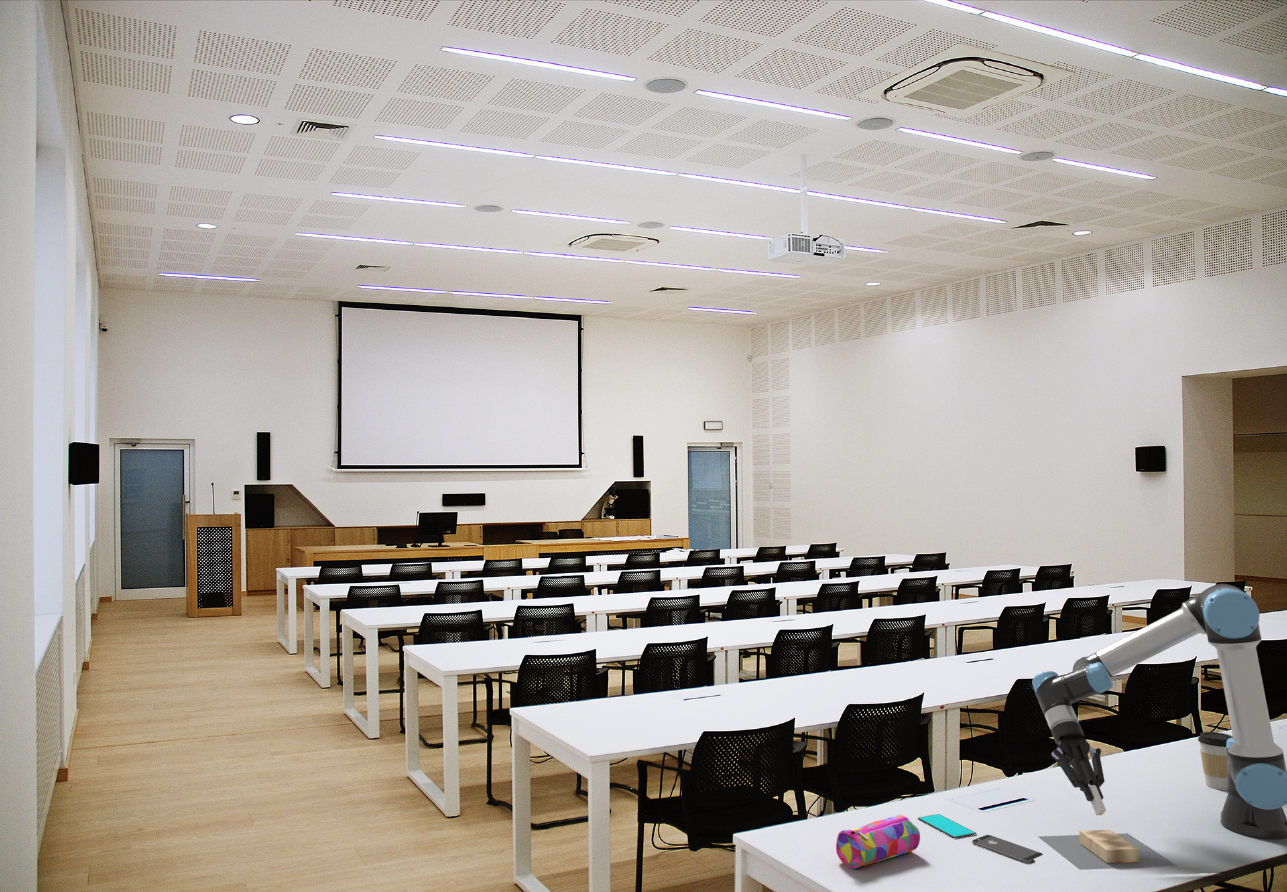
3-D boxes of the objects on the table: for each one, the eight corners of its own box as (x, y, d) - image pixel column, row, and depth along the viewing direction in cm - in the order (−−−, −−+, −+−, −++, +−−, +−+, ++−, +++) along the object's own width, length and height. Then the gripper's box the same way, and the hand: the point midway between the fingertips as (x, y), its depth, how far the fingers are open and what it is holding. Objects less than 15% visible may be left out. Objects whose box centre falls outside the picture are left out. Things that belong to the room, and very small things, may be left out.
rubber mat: (1127, 835, 239) (1127, 833, 239) (1177, 868, 219) (1177, 865, 219) (1037, 838, 237) (1037, 836, 237) (1079, 871, 217) (1079, 869, 218)
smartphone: (954, 837, 238) (917, 817, 252) (954, 840, 238) (917, 820, 252) (977, 832, 240) (939, 813, 254) (977, 836, 240) (939, 816, 254)
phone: (1045, 858, 226) (987, 837, 239) (1045, 853, 226) (987, 833, 239) (1027, 865, 222) (970, 844, 235) (1027, 861, 222) (969, 840, 235)
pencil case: (860, 876, 216) (859, 837, 216) (831, 862, 224) (831, 825, 224) (923, 856, 228) (923, 818, 228) (894, 843, 236) (894, 807, 236)
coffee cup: (1237, 784, 278) (1236, 734, 278) (1237, 793, 269) (1236, 742, 270) (1199, 778, 283) (1198, 729, 284) (1198, 788, 275) (1197, 737, 275)
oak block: (1110, 829, 233) (1138, 848, 221) (1110, 842, 233) (1138, 862, 221) (1079, 830, 232) (1106, 849, 220) (1079, 843, 232) (1106, 863, 220)
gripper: (1083, 733, 250) (1120, 818, 232) (1036, 734, 249) (1070, 820, 232) (1093, 718, 244) (1132, 804, 227) (1046, 720, 244) (1081, 806, 226)
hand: (1101, 812), depth 229 cm, fingers closed
